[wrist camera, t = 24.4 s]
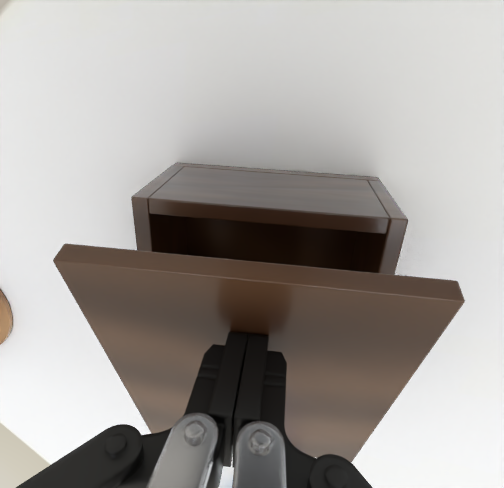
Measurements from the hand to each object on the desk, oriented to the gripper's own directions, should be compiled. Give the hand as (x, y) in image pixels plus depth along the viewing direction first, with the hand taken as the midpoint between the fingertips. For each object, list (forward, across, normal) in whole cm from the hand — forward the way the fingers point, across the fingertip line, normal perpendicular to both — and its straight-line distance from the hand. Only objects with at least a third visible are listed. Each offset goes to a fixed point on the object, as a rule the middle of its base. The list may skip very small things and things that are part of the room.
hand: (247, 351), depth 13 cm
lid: (+2, 0, +4) cm, 4 cm away
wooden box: (+12, 0, +4) cm, 12 cm away
